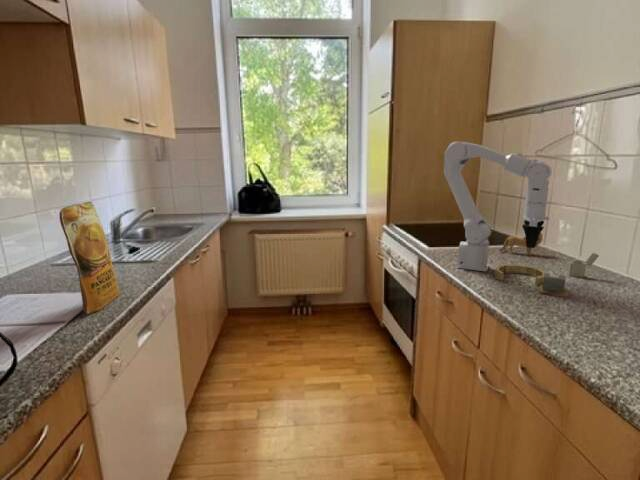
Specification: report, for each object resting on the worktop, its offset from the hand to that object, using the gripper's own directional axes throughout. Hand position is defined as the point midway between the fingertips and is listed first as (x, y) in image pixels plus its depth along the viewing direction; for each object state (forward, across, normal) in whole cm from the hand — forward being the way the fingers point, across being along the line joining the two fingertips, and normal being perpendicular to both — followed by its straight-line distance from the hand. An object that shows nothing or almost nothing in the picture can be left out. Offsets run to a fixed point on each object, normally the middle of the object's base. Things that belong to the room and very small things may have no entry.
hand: (530, 245), depth 117 cm
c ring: (+10, -2, +2) cm, 11 cm away
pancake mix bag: (+11, -81, +102) cm, 131 cm away
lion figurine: (+11, +30, +3) cm, 32 cm away
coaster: (+10, -12, -7) cm, 17 cm away
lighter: (+11, +8, -15) cm, 20 cm away
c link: (+10, -12, -7) cm, 17 cm away
